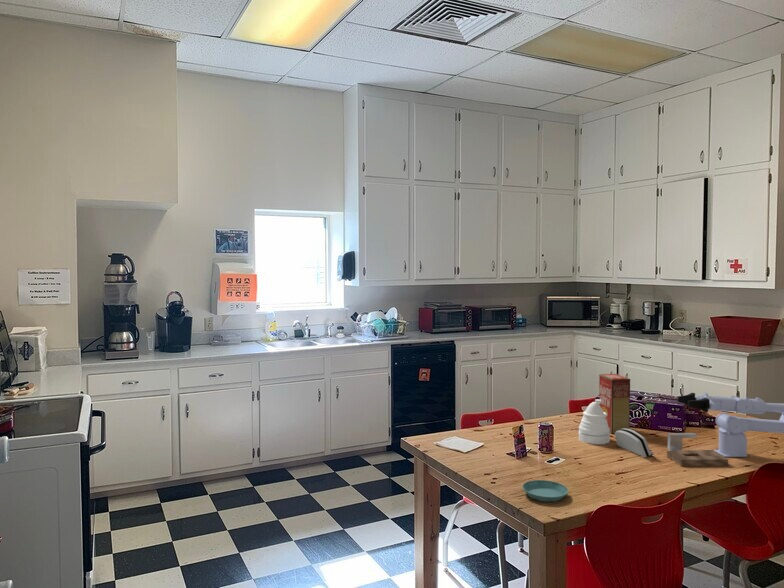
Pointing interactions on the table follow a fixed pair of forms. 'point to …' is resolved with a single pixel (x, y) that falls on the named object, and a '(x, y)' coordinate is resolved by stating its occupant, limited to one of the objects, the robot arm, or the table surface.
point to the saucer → (545, 490)
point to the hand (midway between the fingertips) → (683, 401)
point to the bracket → (678, 440)
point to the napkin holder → (632, 442)
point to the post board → (697, 458)
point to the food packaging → (615, 400)
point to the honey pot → (594, 425)
